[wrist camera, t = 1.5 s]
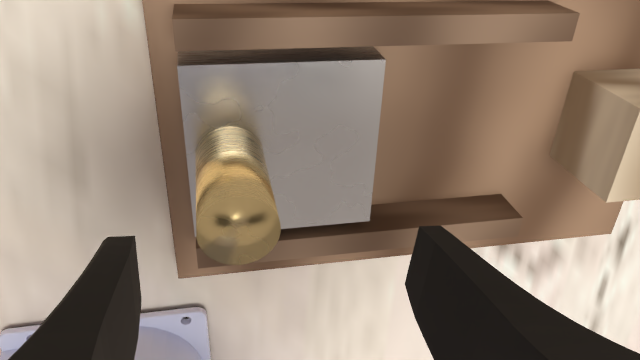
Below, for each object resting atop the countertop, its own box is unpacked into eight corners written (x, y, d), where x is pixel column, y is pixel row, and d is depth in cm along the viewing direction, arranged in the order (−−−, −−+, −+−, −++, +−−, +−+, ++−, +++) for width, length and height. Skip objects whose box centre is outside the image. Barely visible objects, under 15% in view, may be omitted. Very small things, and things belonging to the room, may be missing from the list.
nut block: (549, 155, 25) (605, 202, 21) (573, 71, 22) (640, 108, 19) (625, 149, 25) (691, 194, 22) (655, 68, 23) (733, 103, 20)
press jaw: (194, 213, 22) (195, 324, 17) (178, 50, 18) (172, 126, 13) (359, 200, 23) (407, 298, 18) (372, 45, 20) (436, 112, 15)
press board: (179, 257, 25) (177, 310, 22) (138, -71, 18) (127, -56, 15) (593, 217, 29) (637, 257, 26) (693, -62, 22) (770, -49, 19)
